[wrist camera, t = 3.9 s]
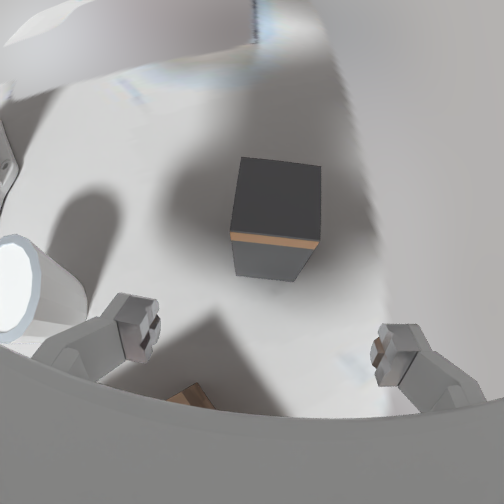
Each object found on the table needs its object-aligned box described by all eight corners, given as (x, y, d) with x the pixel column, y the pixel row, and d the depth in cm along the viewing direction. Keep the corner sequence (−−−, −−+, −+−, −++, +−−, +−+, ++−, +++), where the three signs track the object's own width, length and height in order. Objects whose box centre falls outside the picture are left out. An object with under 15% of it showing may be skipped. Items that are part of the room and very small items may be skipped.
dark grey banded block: (235, 275, 21) (229, 230, 13) (242, 222, 22) (241, 156, 15) (293, 282, 21) (320, 240, 13) (297, 228, 22) (321, 166, 14)
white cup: (26, 277, 20) (-27, 250, 14) (88, 255, 21) (39, 218, 14) (36, 357, 18) (-24, 350, 12) (102, 342, 19) (46, 334, 12)
